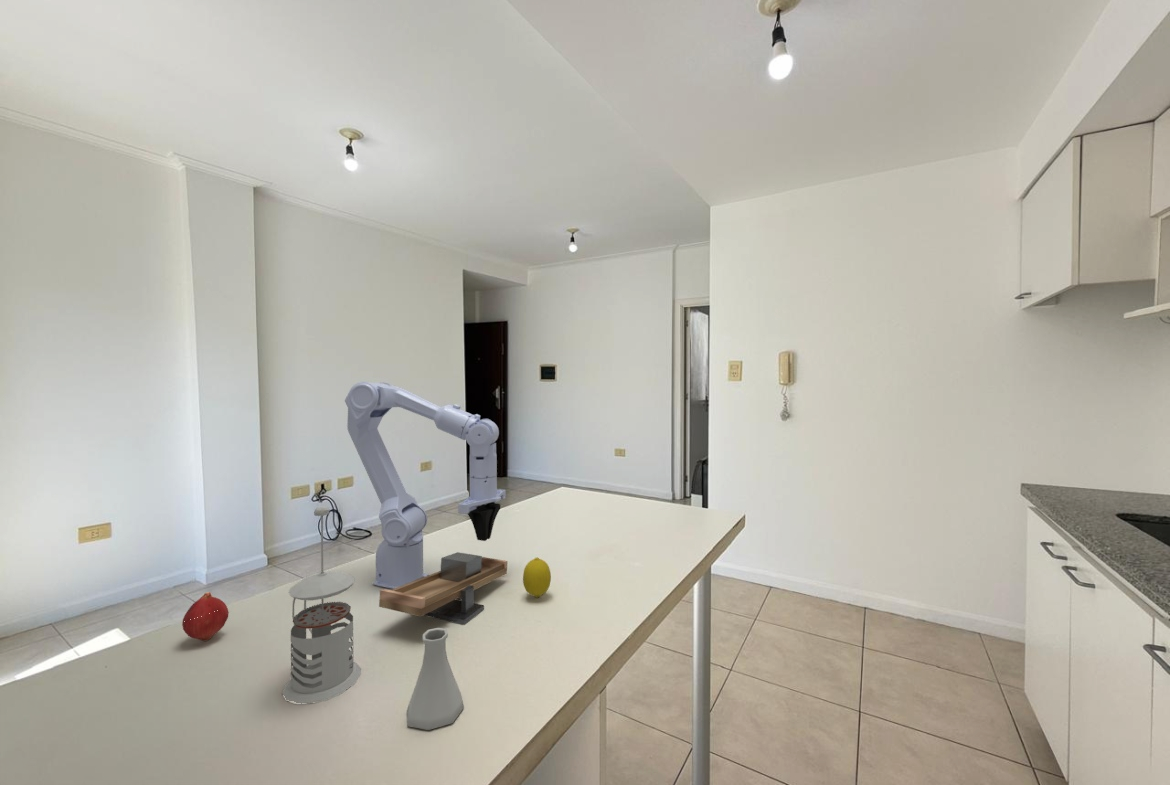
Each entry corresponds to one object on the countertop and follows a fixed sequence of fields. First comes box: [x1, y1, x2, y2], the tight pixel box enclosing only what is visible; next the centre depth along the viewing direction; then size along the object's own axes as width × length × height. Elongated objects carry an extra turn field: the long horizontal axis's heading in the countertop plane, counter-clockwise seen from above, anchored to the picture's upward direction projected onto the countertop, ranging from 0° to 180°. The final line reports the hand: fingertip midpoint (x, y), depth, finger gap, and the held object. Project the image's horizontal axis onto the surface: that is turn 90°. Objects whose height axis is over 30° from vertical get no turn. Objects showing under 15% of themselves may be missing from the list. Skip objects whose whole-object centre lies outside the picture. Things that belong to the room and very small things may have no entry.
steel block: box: [440, 551, 483, 582], centre depth 90 cm, size 6×5×4 cm
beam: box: [378, 556, 508, 617], centre depth 87 cm, size 9×26×3 cm, turn 158°
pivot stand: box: [417, 576, 485, 626], centre depth 85 cm, size 14×6×5 cm, turn 68°
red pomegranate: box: [181, 591, 230, 642], centre depth 75 cm, size 6×6×8 cm
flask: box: [406, 627, 465, 731], centre depth 58 cm, size 7×7×10 cm
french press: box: [282, 505, 362, 705], centre depth 65 cm, size 10×12×25 cm
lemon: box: [522, 557, 552, 599], centre depth 90 cm, size 6×6×8 cm
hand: (483, 539), depth 97 cm, fingers closed
